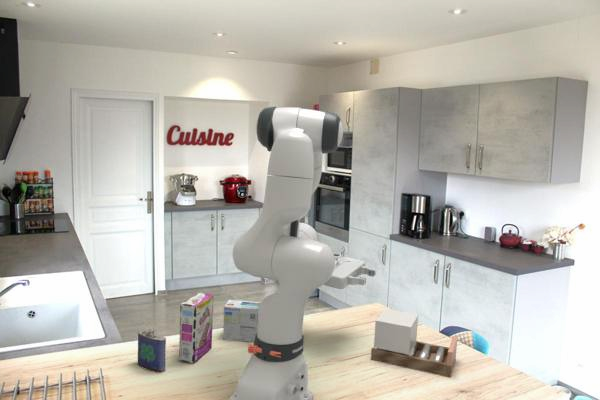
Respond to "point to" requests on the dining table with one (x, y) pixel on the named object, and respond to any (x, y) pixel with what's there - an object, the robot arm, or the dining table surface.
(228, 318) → the light bulb box
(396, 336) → the off-white cardboard box
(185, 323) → the candy bar box
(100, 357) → the dining table surface
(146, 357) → the flask
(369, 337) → the dining table surface
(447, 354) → the roller track
